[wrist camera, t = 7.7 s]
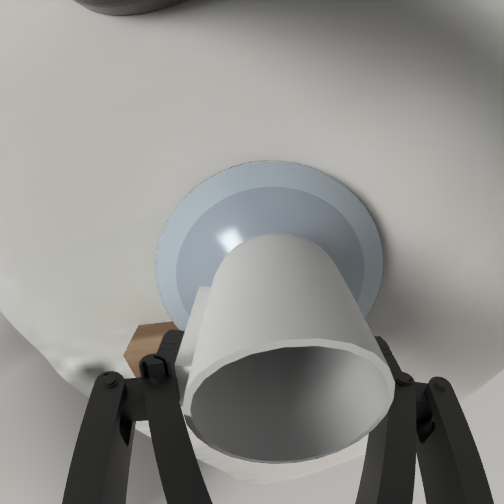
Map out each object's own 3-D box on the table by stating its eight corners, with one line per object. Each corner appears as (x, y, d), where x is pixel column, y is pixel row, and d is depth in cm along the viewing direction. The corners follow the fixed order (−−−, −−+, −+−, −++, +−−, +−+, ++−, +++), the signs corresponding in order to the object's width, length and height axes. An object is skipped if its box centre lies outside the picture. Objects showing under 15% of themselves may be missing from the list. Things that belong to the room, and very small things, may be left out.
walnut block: (138, 324, 23) (123, 355, 20) (182, 319, 23) (171, 352, 19) (155, 359, 25) (144, 391, 21) (196, 356, 24) (189, 389, 21)
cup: (315, 208, 15) (380, 298, 7) (358, 344, 19) (400, 453, 10) (191, 258, 16) (138, 375, 8) (260, 378, 20) (261, 491, 12)
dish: (157, 155, 18) (150, 157, 17) (395, 175, 18) (403, 178, 17) (168, 350, 24) (165, 360, 23) (350, 358, 24) (354, 368, 23)
